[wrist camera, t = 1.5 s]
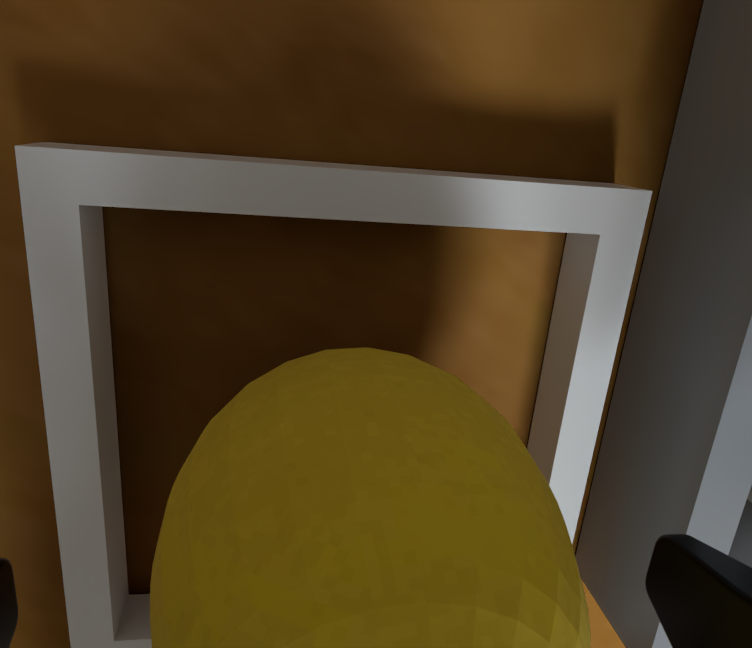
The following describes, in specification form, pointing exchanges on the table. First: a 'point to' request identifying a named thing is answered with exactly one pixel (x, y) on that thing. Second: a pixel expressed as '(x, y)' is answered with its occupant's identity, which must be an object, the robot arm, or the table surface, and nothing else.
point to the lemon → (363, 519)
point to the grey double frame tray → (684, 348)
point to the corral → (304, 200)
